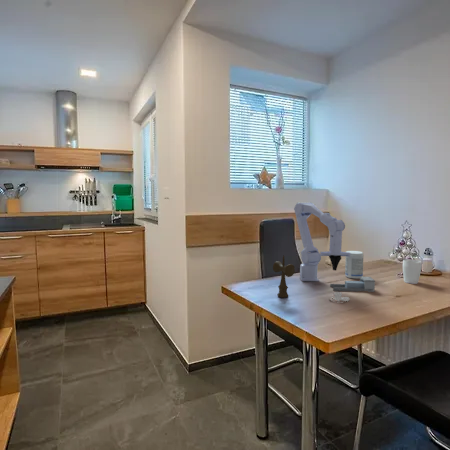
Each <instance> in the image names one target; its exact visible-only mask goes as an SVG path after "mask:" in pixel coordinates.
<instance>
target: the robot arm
mask: <svg viewBox="0 0 450 450" xmlns="http://www.w3.org/2000/svg"><path fill="white" fill-rule="evenodd" d="M293 210H294V214H295V218H296V224H297V228H298V231H299V235H300V238H301V242H302V246H303V249H302V250H301V251H300V253H301V255H300V256H301V257H300V258H301V259H300V260H301V262H302V263H300V267H299V278H300V281H302V282H319V281H320V279H318V266H319V263H320V262H321V260H322V257H328V258H329V260H330V262H331V266H332V267H331V268H332V270H333V271H337V270H338V265H339V264H340V261H341V260H342V257H346V256H348V257H350V252H346V251H342V242H343V241H342V239H343V231H345V228H346V225H345V224H346V223H345V222H344V221H343V220H342V219H337V217H334V216H332V215H331V213H330V212H323V211H322V210H321V209H320V208H318V207H317V206H316V204H315V203H313V202H312V201H310V202H296V203H295V206H294V208H293ZM311 215H314V216H315V217H317V218H319V222H321V223H322V224H323V225H325V226H326V227H327V230H328V231H329V232H328V233H329V251H327V250H326V251H319V249H318V248H317V247H316V246H314V243H313V240H312V235H311V230H310V227H309V225H308V218H309V217H310V216H311Z"/></svg>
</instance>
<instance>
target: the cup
mask: <svg viewBox="0 0 450 450" xmlns="http://www.w3.org/2000/svg"><path fill="white" fill-rule="evenodd" d="M422 264H423V263H422V260H419V259H414V258H404V259H403V260H402V275H403V282H404V283H406V284H412V285H416V284H419V280H420V277H421V272H422V268H423V267H422Z"/></svg>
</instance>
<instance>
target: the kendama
mask: <svg viewBox="0 0 450 450" xmlns="http://www.w3.org/2000/svg"><path fill="white" fill-rule="evenodd" d="M285 264H286V263H285V255H283V256H282V262H281V261H279V260H278V261H277V260H276V261H274V262H273V265H272V270H273V273H274V272H275V273H279V272H280V273H281V277H280V282H279V285H278V293H277V297H279V298H281V299H282V298H283V299H284V298H288V297H289V294H288V288H289V287H288V285H287V282H286V277H287V278H290V277H293V276H294V274H295V270H296V268H295V265H294V264H293V263H290V264H287V265H285Z"/></svg>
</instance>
